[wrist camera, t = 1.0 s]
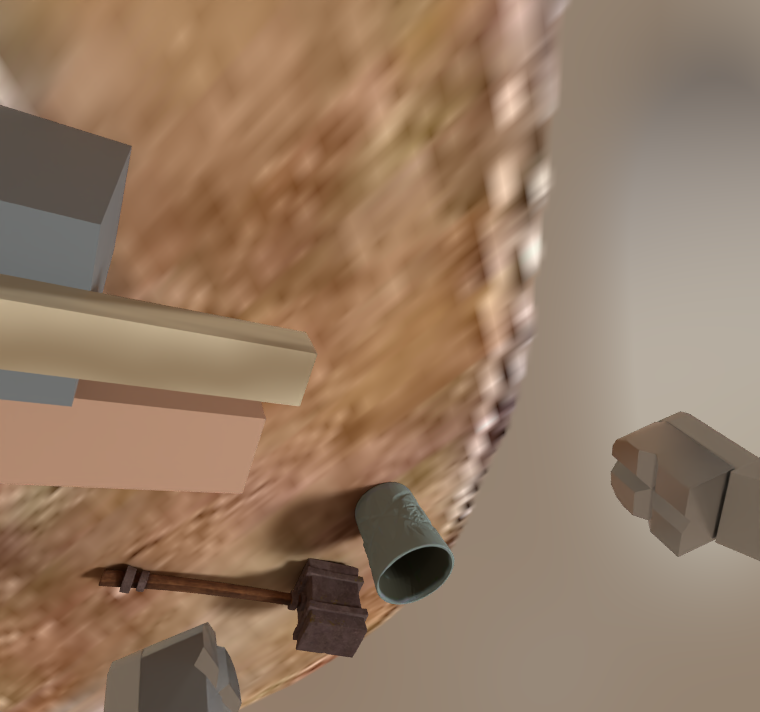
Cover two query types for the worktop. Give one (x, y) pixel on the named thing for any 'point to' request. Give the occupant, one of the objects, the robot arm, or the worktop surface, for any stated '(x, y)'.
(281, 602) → the hammer
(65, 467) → the tan upright block
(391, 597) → the grey green cup
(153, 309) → the T-bar
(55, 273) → the grey upright block
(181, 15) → the worktop surface
